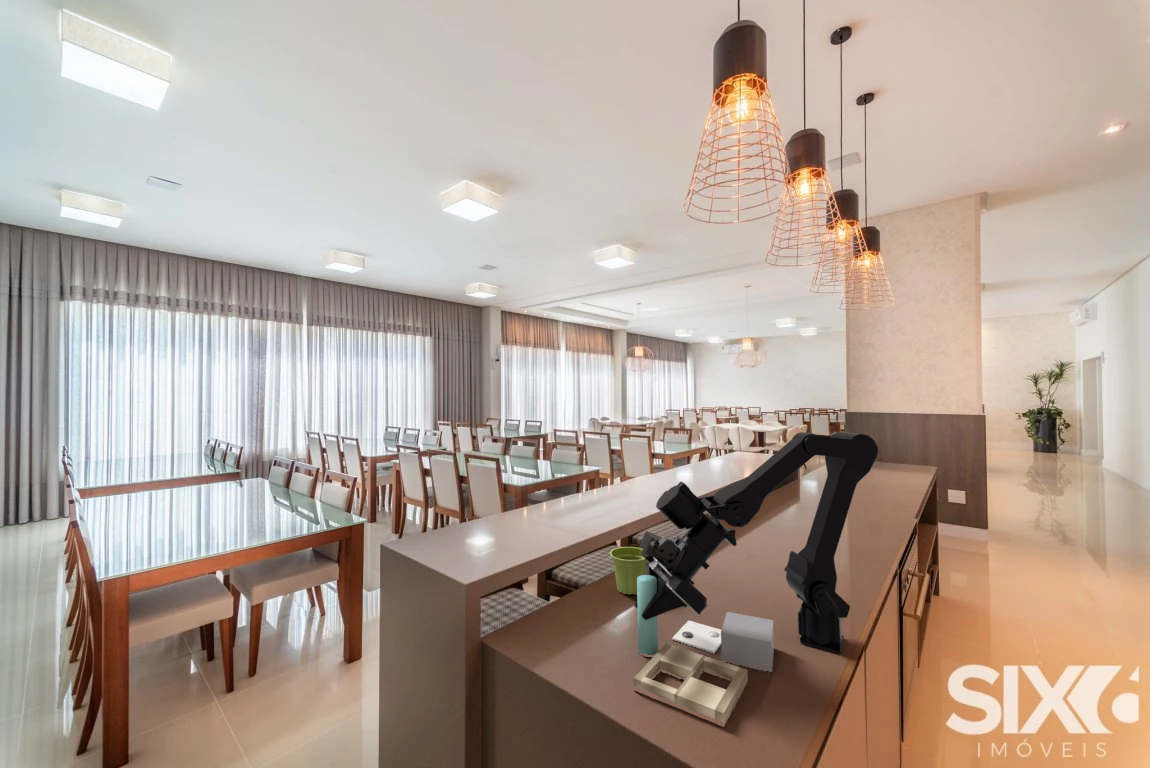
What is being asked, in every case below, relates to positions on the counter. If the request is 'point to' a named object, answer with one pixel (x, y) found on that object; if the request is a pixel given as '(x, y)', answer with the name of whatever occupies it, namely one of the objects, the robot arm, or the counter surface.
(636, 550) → the plant pot
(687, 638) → the pattern tile
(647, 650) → the pin
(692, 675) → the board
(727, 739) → the counter surface
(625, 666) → the counter surface
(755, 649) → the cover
